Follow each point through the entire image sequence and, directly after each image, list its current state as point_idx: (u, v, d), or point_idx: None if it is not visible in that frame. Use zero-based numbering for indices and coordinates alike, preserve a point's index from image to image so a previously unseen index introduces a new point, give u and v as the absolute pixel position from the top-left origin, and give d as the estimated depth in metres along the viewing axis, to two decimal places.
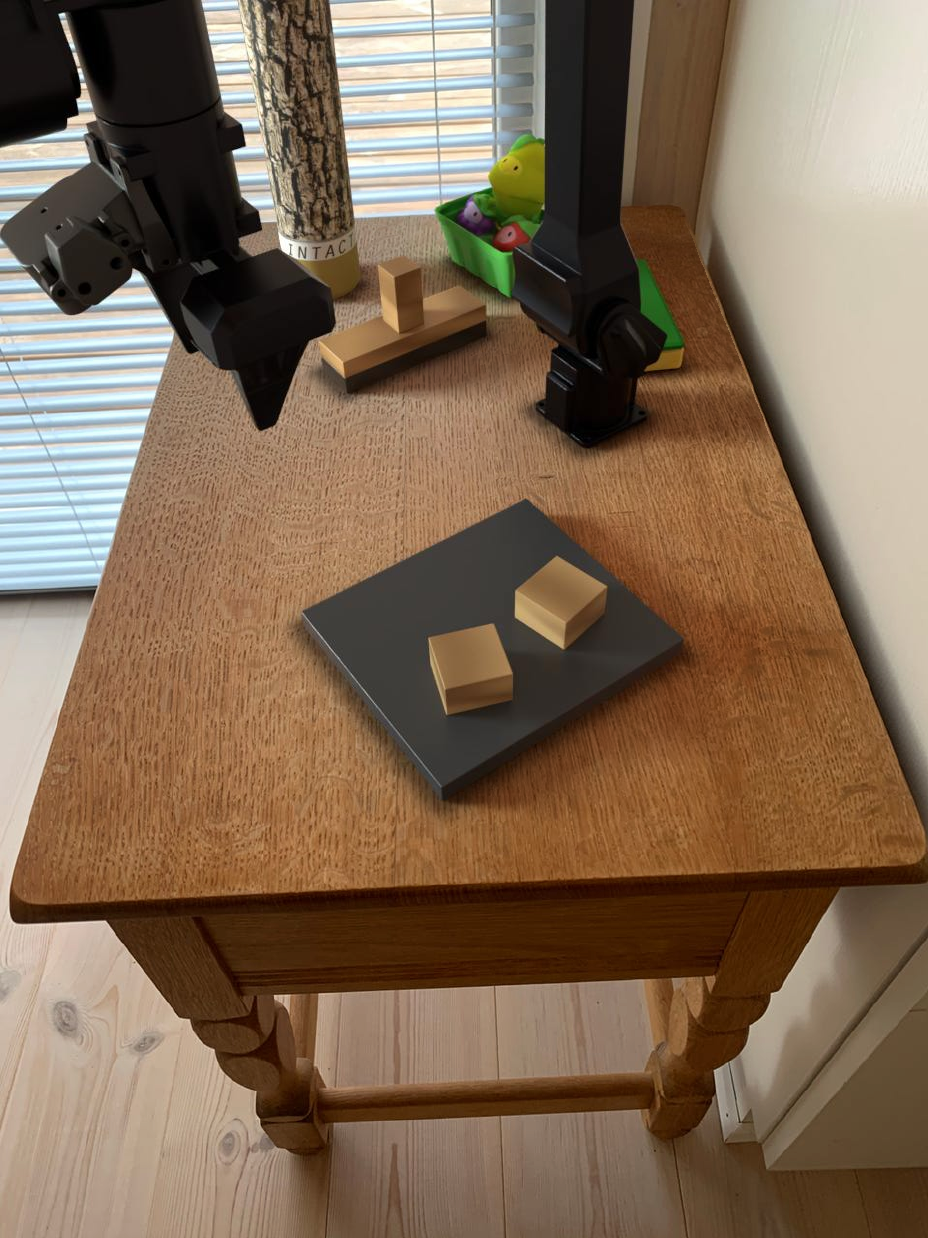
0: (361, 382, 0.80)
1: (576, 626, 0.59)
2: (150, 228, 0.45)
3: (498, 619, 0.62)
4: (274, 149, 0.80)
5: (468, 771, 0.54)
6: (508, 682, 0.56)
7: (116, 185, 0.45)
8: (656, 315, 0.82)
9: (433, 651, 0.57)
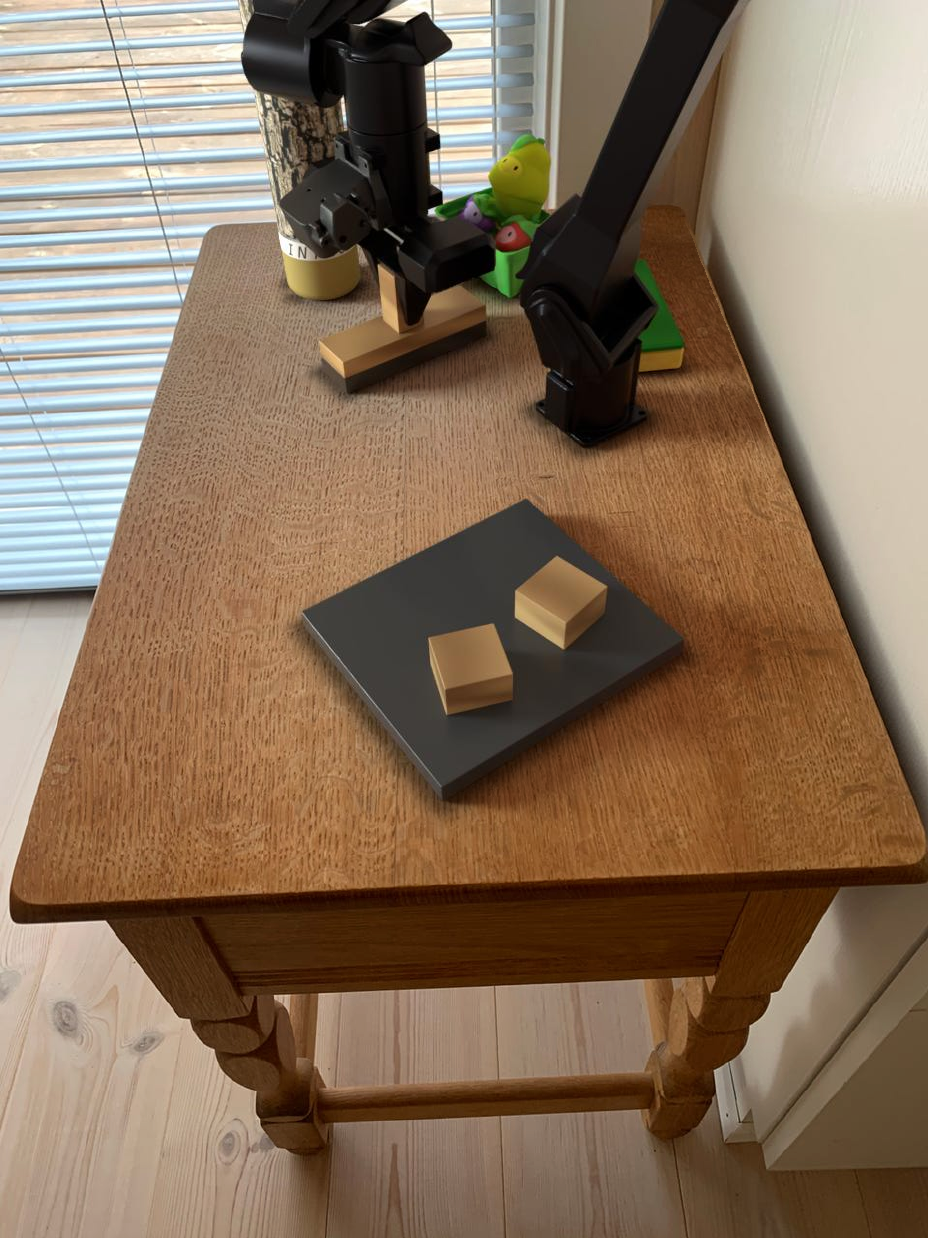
0: (361, 382, 0.80)
1: (576, 626, 0.59)
2: (380, 201, 0.70)
3: (498, 619, 0.62)
4: (274, 149, 0.80)
5: (468, 771, 0.54)
6: (508, 682, 0.56)
7: (359, 173, 0.69)
8: (656, 315, 0.82)
9: (433, 651, 0.57)
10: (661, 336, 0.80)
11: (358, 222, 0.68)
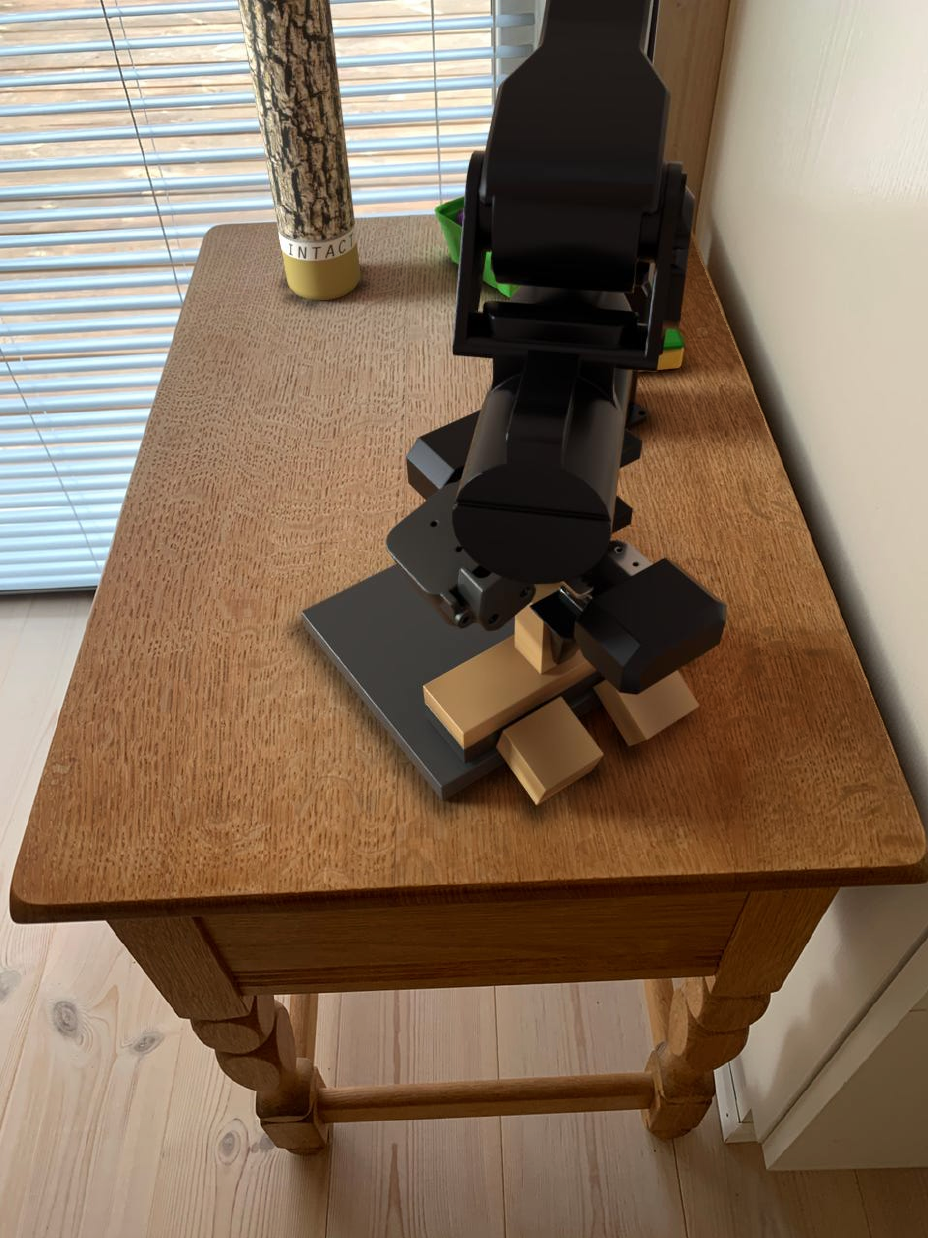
0: (485, 747, 0.55)
1: None
2: None
3: None
4: (274, 149, 0.80)
5: (468, 771, 0.54)
6: (597, 761, 0.54)
7: None
8: None
9: (515, 746, 0.53)
10: None
11: (518, 593, 0.43)
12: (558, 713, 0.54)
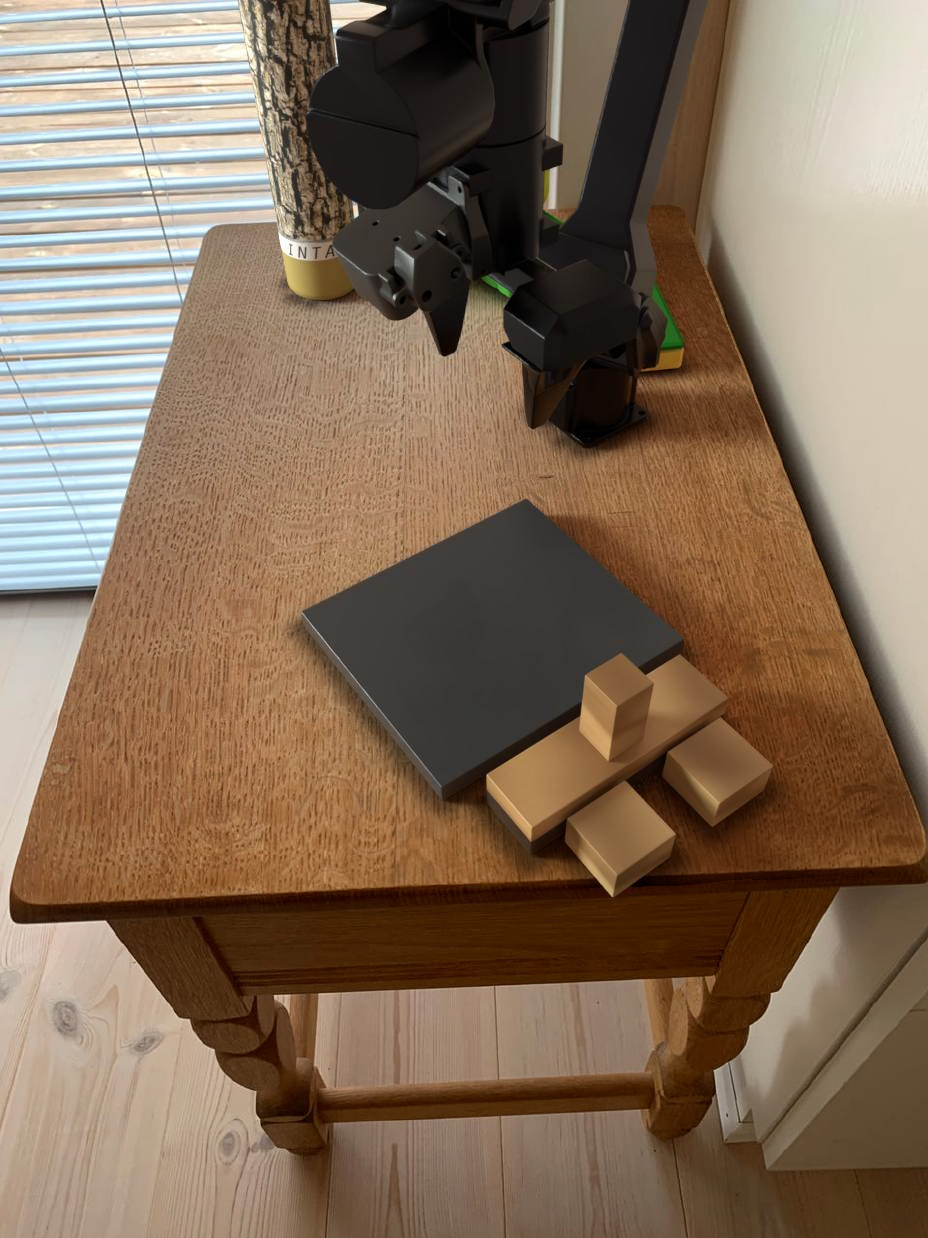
0: (551, 837, 0.53)
1: (730, 805, 0.53)
2: (478, 240, 0.49)
3: (498, 619, 0.62)
4: (274, 149, 0.80)
5: (468, 771, 0.54)
6: (670, 843, 0.51)
7: (449, 200, 0.48)
8: None
9: (580, 833, 0.51)
10: None
11: (449, 272, 0.47)
12: (623, 797, 0.52)
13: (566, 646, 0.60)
